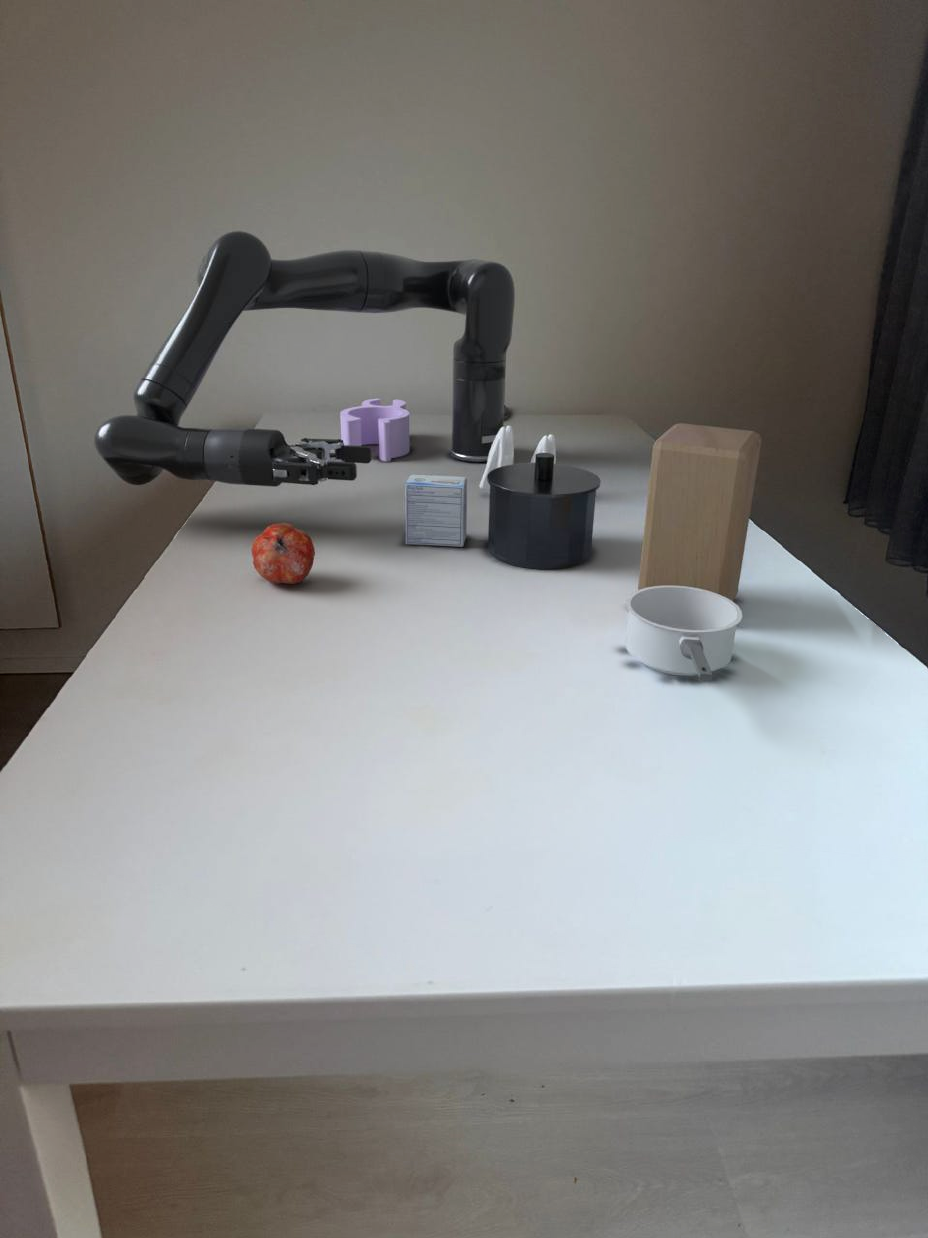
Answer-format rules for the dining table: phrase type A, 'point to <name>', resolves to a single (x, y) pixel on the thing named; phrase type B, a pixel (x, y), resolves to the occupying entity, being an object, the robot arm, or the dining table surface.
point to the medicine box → (436, 510)
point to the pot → (540, 529)
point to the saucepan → (681, 629)
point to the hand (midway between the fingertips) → (363, 463)
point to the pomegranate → (283, 554)
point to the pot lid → (543, 479)
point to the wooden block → (699, 508)
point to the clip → (377, 427)
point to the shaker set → (511, 453)
